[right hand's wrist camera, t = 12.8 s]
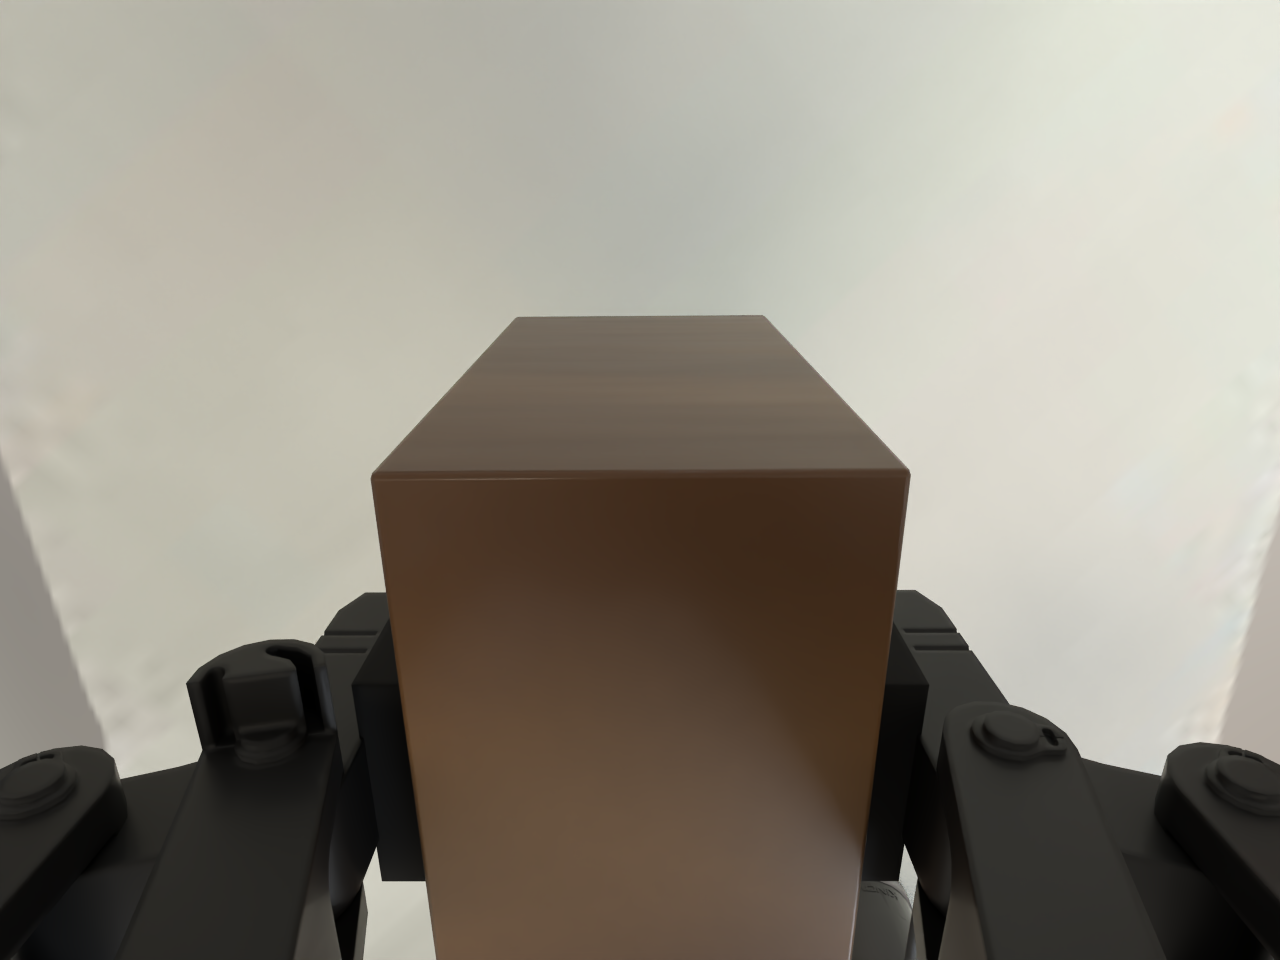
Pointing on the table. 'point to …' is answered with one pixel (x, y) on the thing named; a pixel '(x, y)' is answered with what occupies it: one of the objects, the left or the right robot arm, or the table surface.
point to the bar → (642, 642)
